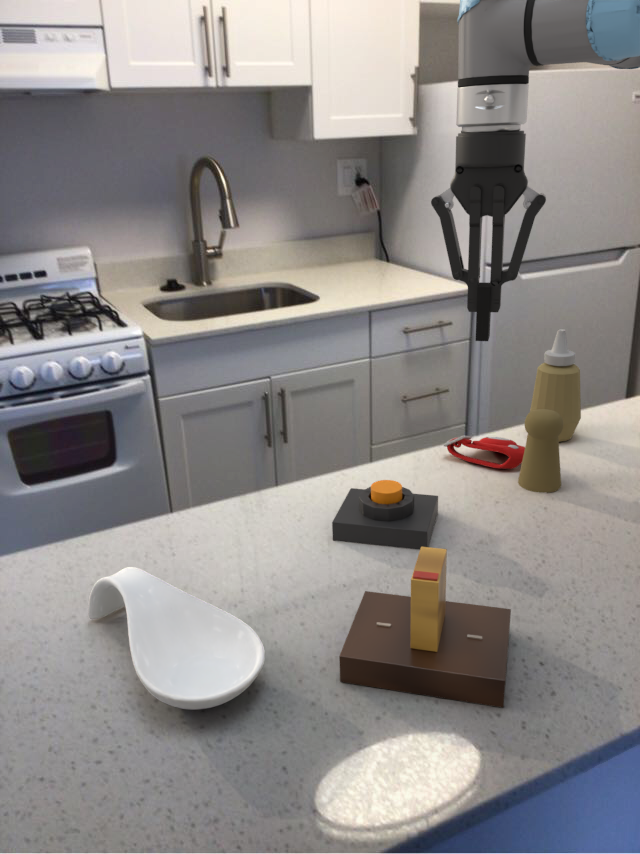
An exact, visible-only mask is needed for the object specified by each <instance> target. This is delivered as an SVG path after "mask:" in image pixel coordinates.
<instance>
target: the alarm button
mask: <svg viewBox="0 0 640 854" xmlns="http://www.w3.org/2000/svg"><path fill="white" fill-rule="evenodd" d="M370 487H371V500H372V501H373V502H376V503H378V504H394V503H398V502H400V501H402V487H403V484H402V483H400V482H399V481H396V480H392V479H381V480H377V481H375V482H373V483H372V484H371V485H370Z"/></svg>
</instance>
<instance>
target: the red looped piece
mask: <svg viewBox="0 0 640 854" xmlns="http://www.w3.org/2000/svg"><path fill="white" fill-rule="evenodd" d="M462 446H464V447H467V448H470V449H476V450H482V451H488V452H496V453H500V454H503V455H505V456H507V457H508V458H507V459H506V460H505V462H503V463H497V462H494V461H489V460H485V459H481V458H477V457H472V456H468V455H465V454H462V453H461V452H458V451H457V450H456V448H457V449H460V448H461V447H462ZM443 447H446V448H447V451H448V453H449V454H451V456H453V457H455V458H458V459H460V460H461V461H465V462H469V463H473V464H475V465H481V466H484V467H489V468H493V469H502V470H504V469H505V470H512V469H515V468H518V466H521V465H522V460H523V455H524V451H525V446H523V445H520V444H519V445H518V443H517V442H515V440H512V439H509V438H505V437H501V436H499V437H498V436H486V437H482V438H481V439H479V440H472V436H471V435H465V434H464V435H461V436H458V437H457V436H456V437H453V438H451V439H448V440H447V441H446V442H445V443H443Z"/></svg>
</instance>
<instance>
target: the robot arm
mask: <svg viewBox="0 0 640 854" xmlns="http://www.w3.org/2000/svg"><path fill="white" fill-rule="evenodd" d="M456 20H457V26H458V59H457V60H458V61H457V62H458V66H457V68H458V69H457V70H458V71H457V72H458V73H457V76H458V77H457V89H456V91H457V92H456V123H455V124H456V126H457V127H458V128H461V130H460V132H458V133H457V135H456V136H455V164H454V165H455V168H454V169H455V170H454V174H453V177H452V179H451V181H450V183H449V184H450V186H449V188H448V189H446V190H445V191H443V192H442V193H441V194H437V195H436V196H434V197H433V198H432V199H431V201H430V204H431V206H432V208H433V209H434V211H435V213H436V215H437V216H438V218H439V220H440V226H441V229H442V235H443V239H444V244H445V248H446V253H447V257H448V262H449V266H450V267H449V268H450V271H451V276H452V278H453V279H454V281H459V282H463V283H465V284H466V287H467V301H466V305H467V306H466V308H467V311H468V312H469V313H475V314H476V317H475V342H489V341H490V336H491V318H492V316H491V315H492V314H491V313H499V311H500V309H501V305H502V287H503V285H504V284H505V283H508V282H511V281H515V280H516V279H517V278H518V275H519V271H520V268H521V265H522V262H523V258H524V255H525V252H526V249H527V245H528V242H529V238H530V235H531V232H532V229H533V225H534V222H535V219H536V217H537V215H538V214H539V212H540V211H541V209H542V208H543V207H544V206H545V204H546V201H547V196H546V194H544V193H543V192H538V191H537V190H536V189H534V188H532V187H531V186H529V185H528V183H529V180H528V177H527V175H526V173H525V157H526V156H525V155H526V137H527V133H525V130H521V129H522V128H521V125H525V124H526V123H527V122H528V120H527V119H528V103H529V89H530V87H529V86H530V85H529V82H530V76H529V75H530V70H531V67H534V66H535V67H540V66H541V67H542V66H543V67H544V66H545V65H546V66H547V65H563V64H577V63H586V64H587V63H589V64H595V65H602V66H608V67H611V68H613V69H617V70H636V69H637V70H638V69H639V68H640V0H459V11H458V16H457V19H456ZM521 196H523V198H524V200H523V203H522V205H523V208H524V209H525V212H524V214H523V217H522V221H521V225H520V228H519V232H518V235H517V239H516V242H515V245H514V248H513V251H512V255H511V258H510V262H509V265H508V268H506V269H504V270H503V268H504V266H503V265H504V248H505V247H504V245H505V243H504V242H505V224H506V215H507V214H508V213H509V212H510V211H511V210H512V208H513V207H514V206H515V205H516V204H517V202H518V201H519V200H520V198H521ZM454 197H455V199H456V200H457V201H458V203H459V204H460V206H461V207H462V208H463V210H464V211H465V213H466V214H467V215H468V216H469V217H468V218H469V219H468V226H469V227H468V228H469V229H468V259H467V260H468V261H467V268H465V265H464V260H463V256H462V252H461V251H462V250H461V246H460V242H459V237H458V232H457V227H456V223H455V218H454V214H453V212H452V209H453V208H454V206H455V202H454ZM484 217H492V218H491V219H492V224H491V225H492V227H491V228H492V230H491V251H490V253H491V254H490V255H491V256H490V278H489V279H490V280H489V282H480V279H481V259H482V258H481V256H482V233H483V232H482V231H483V218H484Z"/></svg>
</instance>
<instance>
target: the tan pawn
mask: <svg viewBox="0 0 640 854" xmlns="http://www.w3.org/2000/svg"><path fill="white" fill-rule="evenodd" d="M524 429H525V431H526V433H527V437H526V441H525V446H524V447H525V451H524V455H523V460H522V463H521V464H520V470H519V475H518V479H517V483H518V486H519V487H520V488H522V489H524V490H526V491H530V492H533V493H541V494H542V493H545V494H550V493H554V492H557V491H559V490H560V489H561V488H562V476H561V475H562V473H561V459H560V458H561V457H560V444H559V443H560V442H559V441H558V436H559V434H560V433H561V432H562V429H563V419H562V417H561V415H560V414H559V413H557V412H555V411H552V410H546V409H539V410H534V411H531V412H530V411H529V412H528V414H527V415H526V417H525V419H524Z"/></svg>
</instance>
